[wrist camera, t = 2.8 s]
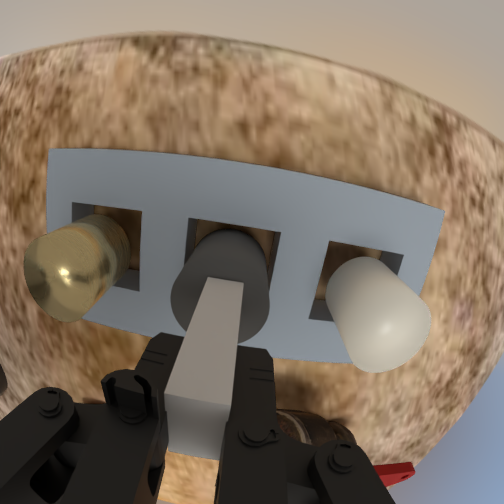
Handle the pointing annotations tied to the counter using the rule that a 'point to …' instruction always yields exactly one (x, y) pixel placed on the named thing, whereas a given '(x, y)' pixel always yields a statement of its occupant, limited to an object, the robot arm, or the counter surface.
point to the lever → (394, 472)
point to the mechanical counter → (311, 428)
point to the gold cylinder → (76, 265)
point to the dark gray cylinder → (225, 278)
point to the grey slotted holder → (244, 214)
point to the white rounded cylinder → (376, 315)
